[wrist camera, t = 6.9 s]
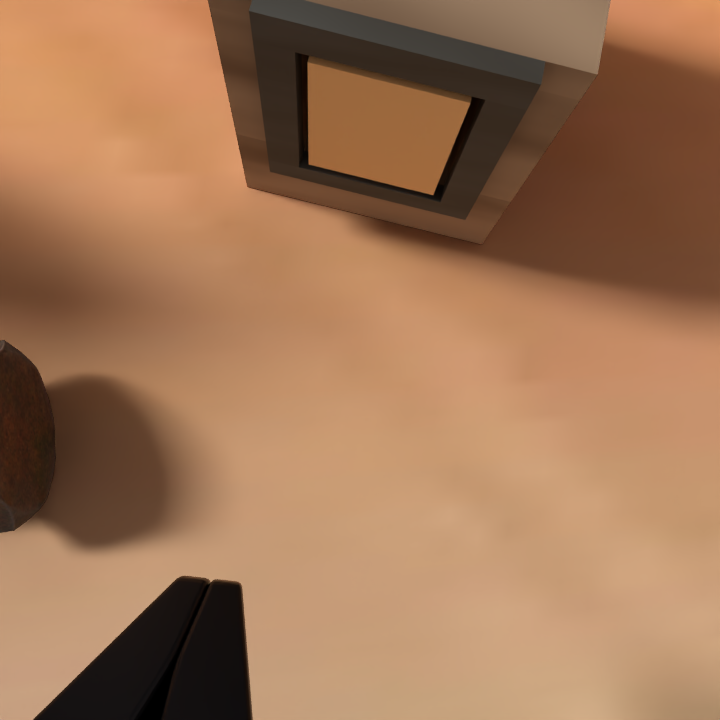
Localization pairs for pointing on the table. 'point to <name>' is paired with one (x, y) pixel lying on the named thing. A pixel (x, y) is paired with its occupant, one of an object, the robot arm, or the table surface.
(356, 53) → the housing
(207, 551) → the table surface
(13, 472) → the bolt
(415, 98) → the peg
